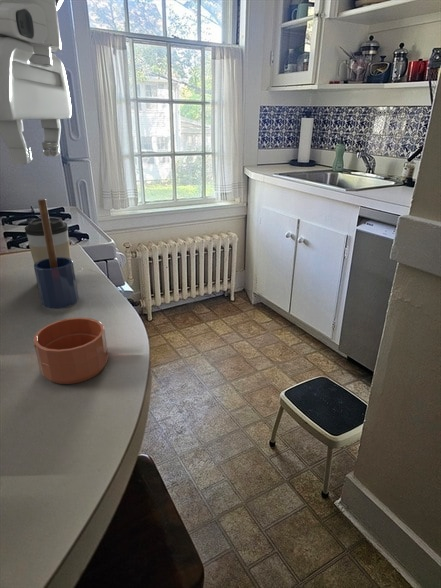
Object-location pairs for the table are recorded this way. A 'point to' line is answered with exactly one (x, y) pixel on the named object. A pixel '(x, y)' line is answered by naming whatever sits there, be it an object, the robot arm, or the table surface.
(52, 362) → the bowl
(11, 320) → the table surface
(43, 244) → the coffee cup
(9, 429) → the table surface
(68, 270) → the crock
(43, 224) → the wooden stirring stick
